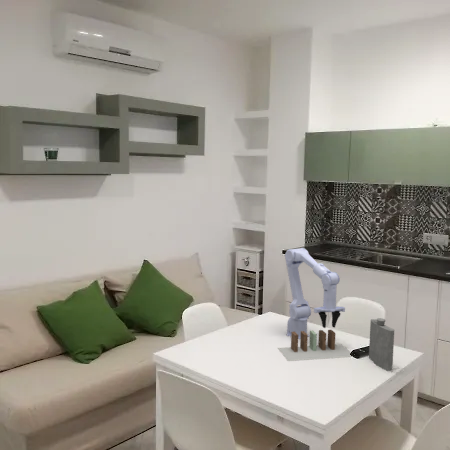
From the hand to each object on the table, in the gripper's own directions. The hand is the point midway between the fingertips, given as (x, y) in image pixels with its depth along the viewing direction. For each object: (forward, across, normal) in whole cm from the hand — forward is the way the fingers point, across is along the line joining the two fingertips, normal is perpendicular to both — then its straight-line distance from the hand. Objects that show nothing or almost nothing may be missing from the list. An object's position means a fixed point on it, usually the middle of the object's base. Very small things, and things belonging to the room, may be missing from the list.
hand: (328, 327), depth 237 cm
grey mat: (+10, -7, -4) cm, 13 cm away
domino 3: (+10, -3, 0) cm, 11 cm away
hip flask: (+11, +15, -20) cm, 28 cm away
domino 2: (+10, -12, 0) cm, 16 cm away
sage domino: (+10, -7, 0) cm, 13 cm away
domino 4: (+10, +2, 0) cm, 10 cm away
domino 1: (+10, -16, 0) cm, 19 cm away
